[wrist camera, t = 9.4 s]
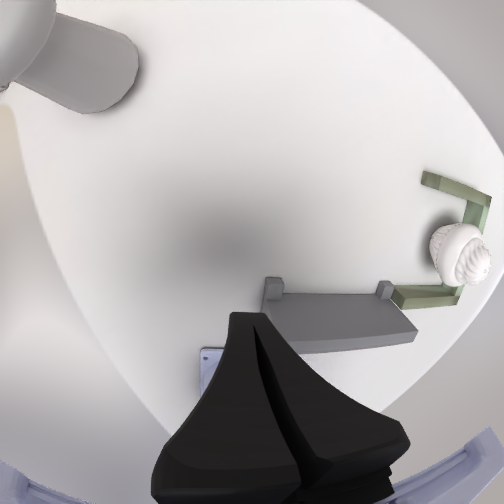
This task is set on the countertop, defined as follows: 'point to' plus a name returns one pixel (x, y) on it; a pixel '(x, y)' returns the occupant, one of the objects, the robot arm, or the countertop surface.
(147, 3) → the countertop surface
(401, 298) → the bay
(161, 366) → the countertop surface
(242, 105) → the countertop surface
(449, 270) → the muffin
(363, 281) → the countertop surface
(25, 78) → the salt shaker
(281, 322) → the screen
